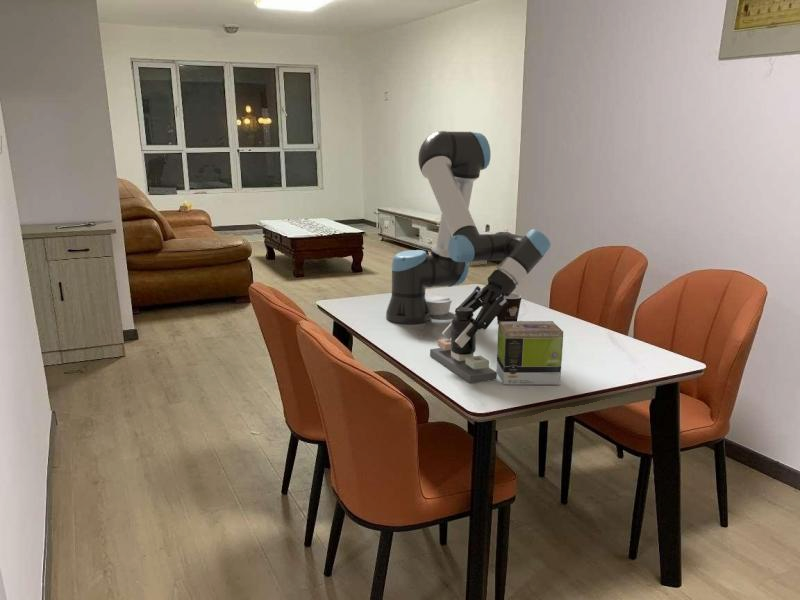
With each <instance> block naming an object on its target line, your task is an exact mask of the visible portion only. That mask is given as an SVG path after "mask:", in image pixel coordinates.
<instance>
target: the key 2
mask: <svg viewBox="0 0 800 600" xmlns="http://www.w3.org/2000/svg"><path fill="white" fill-rule="evenodd" d="M465 364H466V365H468V366H470V367H471V368H473V369H480V368H487V367H489V368H490V360H489V359H487V358H486V357H484V356H482V355H480V354H479V355H473V356H472V357H466V360H465Z"/></svg>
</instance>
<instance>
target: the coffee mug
mask: <svg viewBox="0 0 800 600" xmlns="http://www.w3.org/2000/svg"><path fill="white" fill-rule="evenodd" d="M504 298H505V299H506V300H507V302H508V303H507V305H505V306H504V307H503V308H502V309H501V310H500V312H499V313H498V314H497V316H496V318H497V319H496V320H497V326H498V325H499V321H518V318H519V313H520V308H521V302H522V295H521V294H519V293H513V292H512V293H511V294H510V295H509V296H504Z"/></svg>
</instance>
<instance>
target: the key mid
mask: <svg viewBox="0 0 800 600" xmlns="http://www.w3.org/2000/svg"><path fill="white" fill-rule="evenodd" d="M474 354H475V352H474V353H472V354H468V355H460V354H456V353H453V352H452V351H451V357H453V358H455V359H456V360H458V361H465V360H466V357H472V356H475V355H474Z"/></svg>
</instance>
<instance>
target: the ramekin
mask: <svg viewBox="0 0 800 600" xmlns="http://www.w3.org/2000/svg"><path fill="white" fill-rule="evenodd" d="M425 299H426V302H427V306H428V309H429V313H430V314H429V316H436V315H439V316H446V315H447V314H448V313H449V312H450V309H451V304H452V301H453V300H452V298H451V297H449V296H446V295H442V294H440V295H438V294H428V295H425ZM445 314H446V315H445Z"/></svg>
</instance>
